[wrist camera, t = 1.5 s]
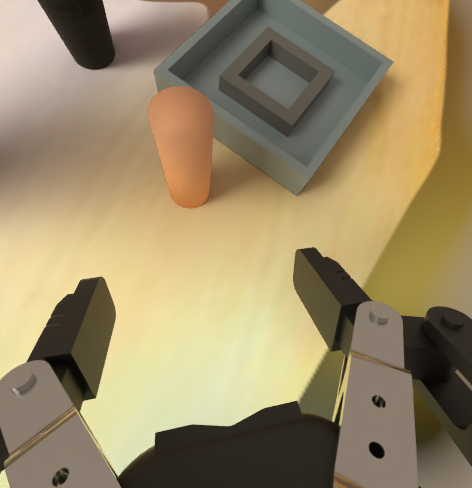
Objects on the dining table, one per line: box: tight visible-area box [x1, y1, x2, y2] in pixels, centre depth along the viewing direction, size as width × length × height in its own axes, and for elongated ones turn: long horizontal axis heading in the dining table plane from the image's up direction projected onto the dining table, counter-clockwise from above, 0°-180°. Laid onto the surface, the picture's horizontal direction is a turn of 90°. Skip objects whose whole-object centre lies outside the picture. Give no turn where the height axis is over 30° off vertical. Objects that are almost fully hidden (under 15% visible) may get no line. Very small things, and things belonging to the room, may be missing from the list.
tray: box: [154, 0, 393, 196], centre depth 33 cm, size 20×20×4 cm
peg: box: [148, 86, 214, 208], centre depth 24 cm, size 4×4×12 cm
